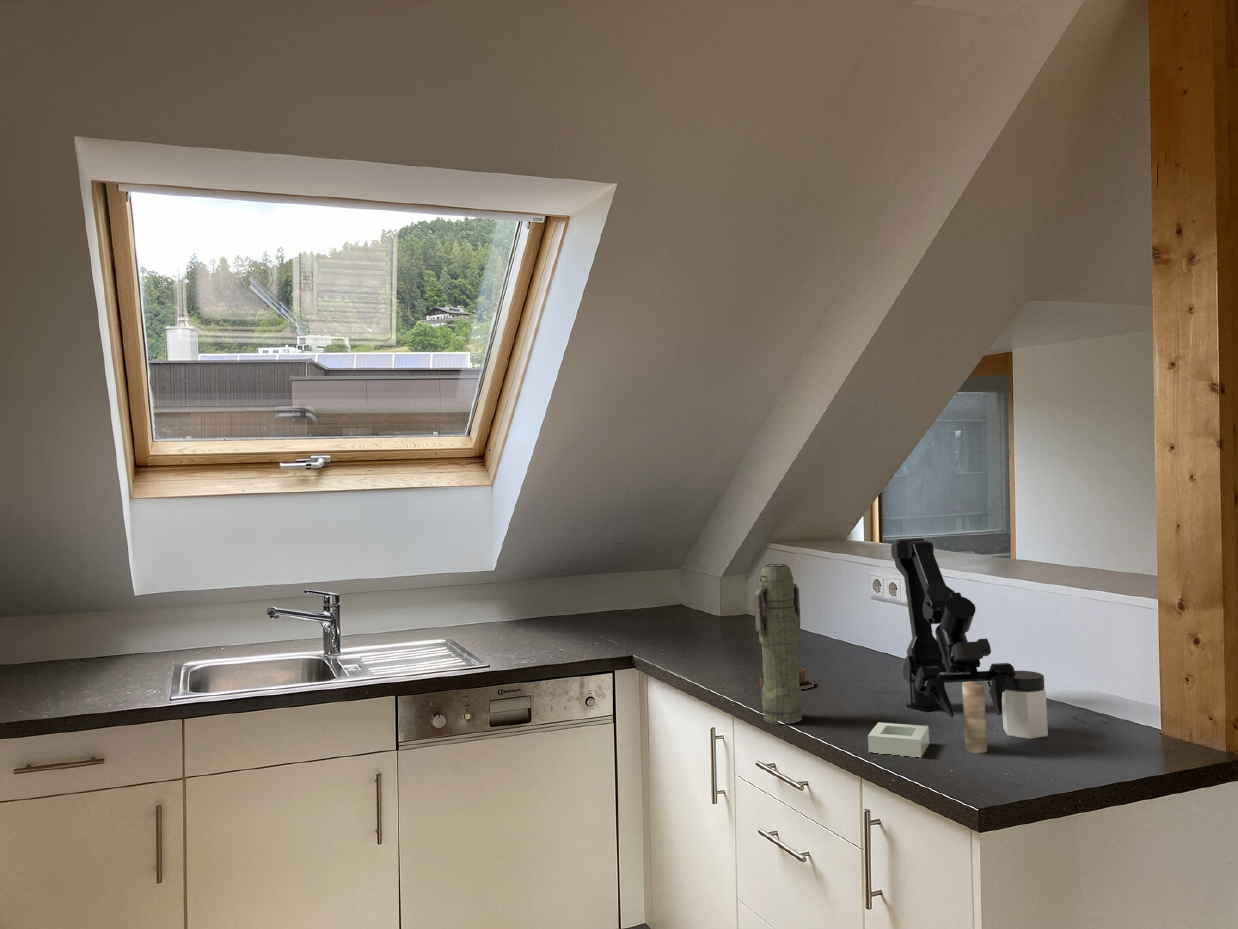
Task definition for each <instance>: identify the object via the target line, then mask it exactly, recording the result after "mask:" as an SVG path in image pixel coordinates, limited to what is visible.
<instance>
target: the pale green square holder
mask: <svg viewBox="0 0 1238 929" xmlns="http://www.w3.org/2000/svg"><path fill="white" fill-rule="evenodd" d="M929 728H930V727H929V725H918V724H906V723H905V724H903V723H893V722H880V721H878V722H877V723H876V725H875V726H874V727H873V728H872V730H871V731H870V732H869V733H868V735H867V744H868V746H867V747H868V753H869V752H873V753H879V754H878V755H881V754H892V755H891V756H893V755H900V756H899V757H904V756H909V757H908V758H915V757H919V758H918V759H922V758H923V756H922V755H924V754H925V752H926V750H927V749H926V748H928V747H929V745H930V731H929V730H930V729H929ZM921 757H922V758H921Z"/></svg>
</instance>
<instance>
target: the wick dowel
mask: <svg viewBox="0 0 1238 929" xmlns="http://www.w3.org/2000/svg"><path fill="white" fill-rule="evenodd" d="M961 685H962V686H961V689H962V705H963V707H962V708H963V724H964V726H963V727H964V745H965V748H964V749H965V751H966V752H967V753H971V754H984V753H987V752H988V740H987V739H988V738H987V721H986V703H985V702H986V699H985V683H984V682H973V681H970V682H961Z"/></svg>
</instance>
